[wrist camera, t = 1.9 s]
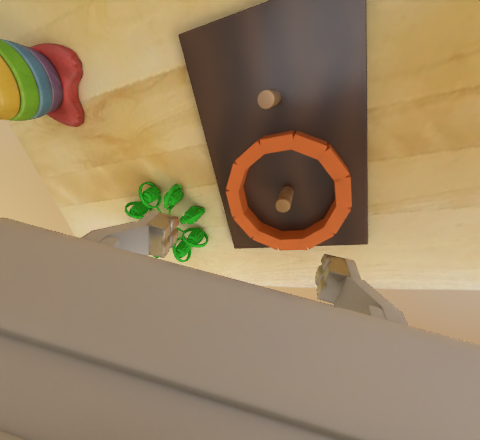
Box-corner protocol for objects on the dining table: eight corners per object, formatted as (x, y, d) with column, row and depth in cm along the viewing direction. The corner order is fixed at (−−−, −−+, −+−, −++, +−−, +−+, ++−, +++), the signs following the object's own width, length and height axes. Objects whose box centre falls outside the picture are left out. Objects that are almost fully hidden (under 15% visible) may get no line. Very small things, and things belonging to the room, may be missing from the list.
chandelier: (120, 192, 45) (90, 208, 39) (186, 163, 38) (162, 177, 32) (162, 260, 50) (141, 283, 44) (227, 244, 43) (212, 269, 37)
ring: (346, 120, 29) (348, 123, 27) (351, 238, 35) (353, 248, 33) (221, 143, 34) (214, 148, 32) (245, 242, 41) (240, 251, 38)
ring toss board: (364, -31, 24) (375, -63, 19) (366, 239, 36) (374, 265, 31) (182, 36, 31) (155, 26, 26) (236, 244, 43) (225, 266, 38)
